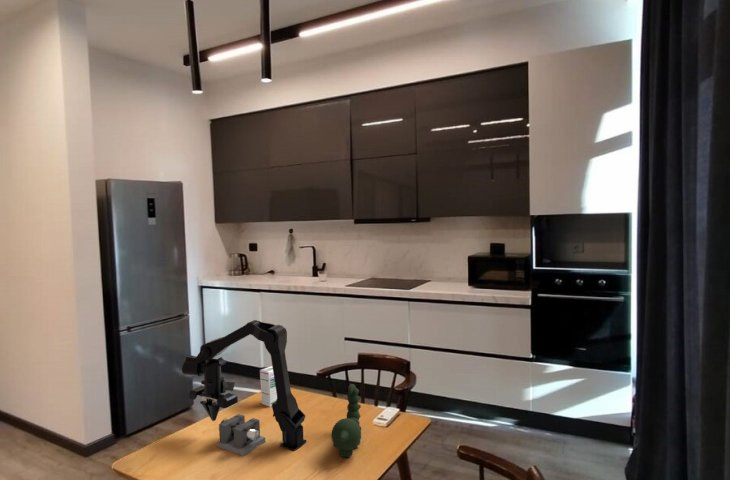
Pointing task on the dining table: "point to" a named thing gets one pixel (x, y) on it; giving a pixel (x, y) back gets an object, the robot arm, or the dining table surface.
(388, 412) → the dining table surface
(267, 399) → the syrup box
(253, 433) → the shaft
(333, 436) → the toy figurine
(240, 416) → the bearing bracket
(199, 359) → the robot arm
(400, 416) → the dining table surface
